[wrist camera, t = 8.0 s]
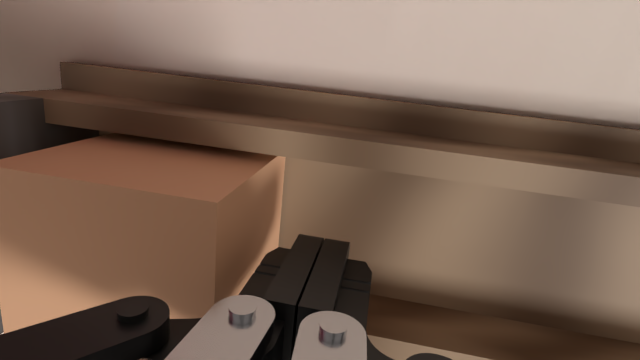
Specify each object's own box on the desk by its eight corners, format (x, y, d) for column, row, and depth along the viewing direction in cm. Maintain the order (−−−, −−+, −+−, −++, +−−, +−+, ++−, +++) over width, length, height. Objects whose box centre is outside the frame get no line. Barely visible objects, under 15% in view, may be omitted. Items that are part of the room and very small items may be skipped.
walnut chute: (797, 148, 12) (1091, 207, 7) (688, 388, 15) (846, 560, 10) (69, 62, 16) (-90, 59, 11) (84, 270, 18) (-37, 351, 13)
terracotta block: (286, 149, 14) (217, 202, 9) (276, 272, 16) (211, 387, 10) (133, 128, 15) (-21, 164, 10) (136, 247, 17) (4, 340, 11)
